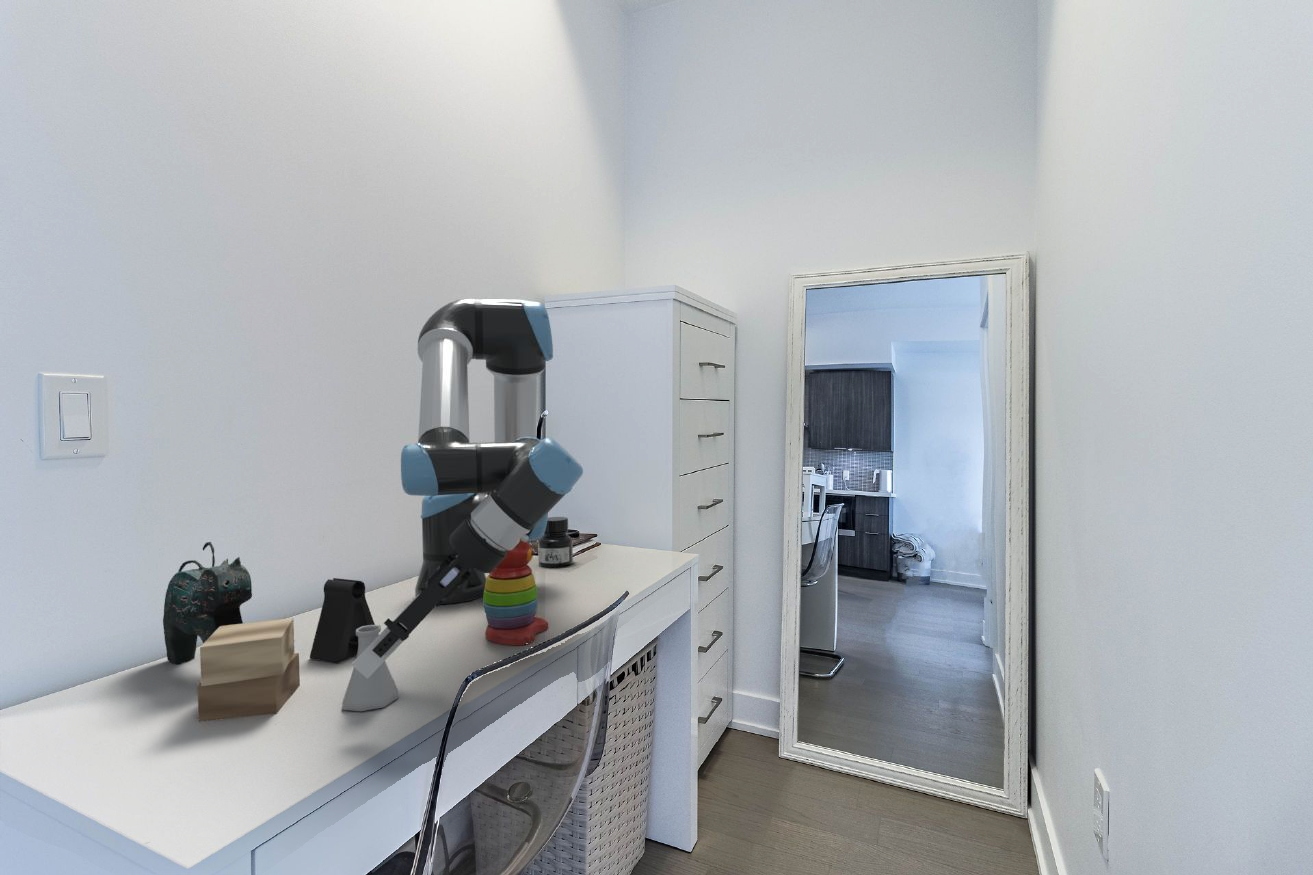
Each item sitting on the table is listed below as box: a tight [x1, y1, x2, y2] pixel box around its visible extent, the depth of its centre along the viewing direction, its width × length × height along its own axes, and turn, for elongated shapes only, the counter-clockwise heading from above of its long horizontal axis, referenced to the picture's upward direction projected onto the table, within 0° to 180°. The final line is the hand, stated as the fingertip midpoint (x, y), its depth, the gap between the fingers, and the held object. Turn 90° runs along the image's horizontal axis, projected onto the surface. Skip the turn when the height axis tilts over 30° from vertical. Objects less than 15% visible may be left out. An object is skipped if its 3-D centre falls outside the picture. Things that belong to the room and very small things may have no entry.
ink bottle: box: [537, 516, 574, 568], centre depth 165 cm, size 10×9×12 cm
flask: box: [341, 624, 399, 712], centre depth 85 cm, size 7×7×10 cm
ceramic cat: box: [162, 541, 253, 665], centre depth 97 cm, size 20×6×20 cm, turn 59°
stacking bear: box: [482, 539, 549, 646], centre depth 111 cm, size 11×10×18 cm
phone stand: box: [309, 577, 376, 664], centre depth 104 cm, size 9×6×12 cm, turn 158°
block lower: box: [196, 652, 301, 723], centre depth 85 cm, size 9×9×5 cm
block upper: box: [199, 617, 295, 686], centre depth 85 cm, size 9×9×5 cm
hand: (378, 650), depth 84 cm, fingers open, 13 cm apart
